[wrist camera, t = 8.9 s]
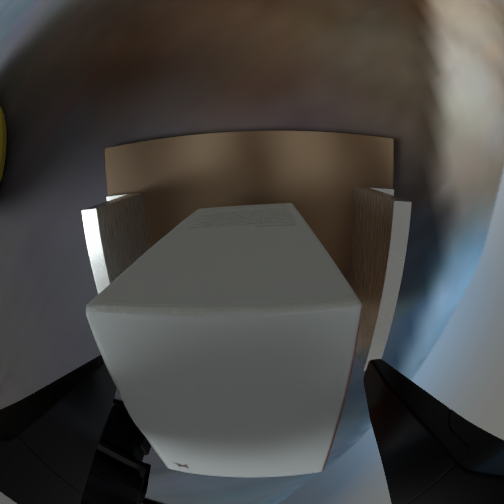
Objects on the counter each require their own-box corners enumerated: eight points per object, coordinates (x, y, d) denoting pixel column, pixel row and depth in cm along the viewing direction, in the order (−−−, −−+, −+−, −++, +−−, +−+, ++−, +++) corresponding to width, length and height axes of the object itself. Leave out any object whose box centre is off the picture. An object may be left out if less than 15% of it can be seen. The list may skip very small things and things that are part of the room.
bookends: (131, 317, 21) (99, 362, 15) (109, 196, 17) (56, 213, 12) (374, 316, 20) (403, 364, 14) (391, 188, 16) (441, 204, 11)
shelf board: (143, 344, 23) (140, 349, 22) (110, 148, 17) (104, 148, 16) (365, 344, 22) (367, 349, 21) (388, 139, 16) (393, 138, 15)
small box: (296, 310, 20) (324, 475, 7) (211, 313, 20) (165, 471, 8) (294, 199, 17) (370, 301, 5) (196, 205, 17) (73, 307, 5)
